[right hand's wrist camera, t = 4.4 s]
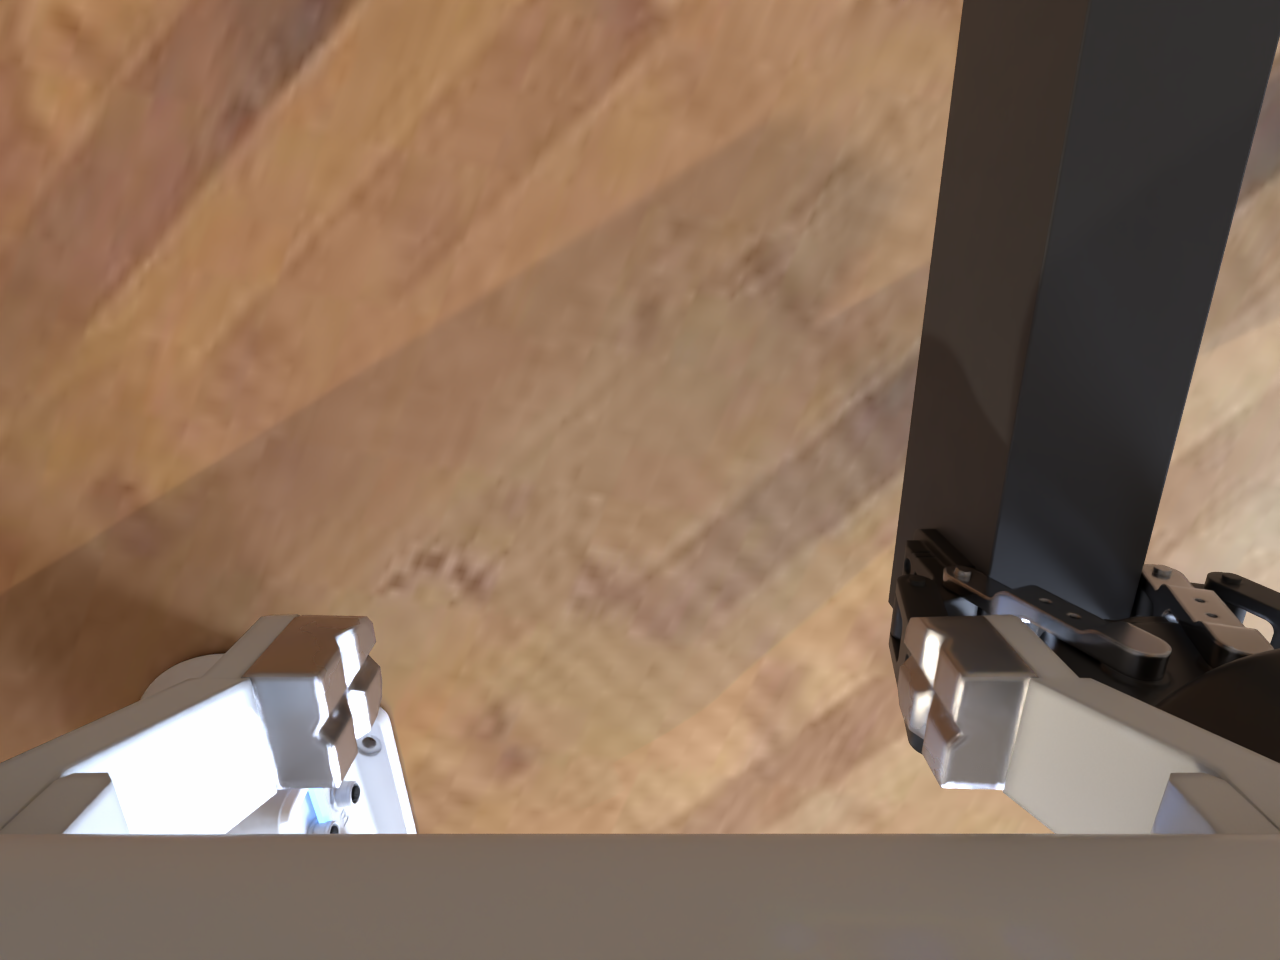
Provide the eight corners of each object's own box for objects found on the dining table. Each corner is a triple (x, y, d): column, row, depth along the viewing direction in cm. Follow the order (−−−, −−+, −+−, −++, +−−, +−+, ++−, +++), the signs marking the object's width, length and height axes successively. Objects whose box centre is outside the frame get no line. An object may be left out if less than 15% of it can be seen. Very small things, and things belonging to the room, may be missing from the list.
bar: (980, -143, 22) (1148, -334, 15) (1133, -144, 22) (1377, -337, 15) (887, 602, 32) (964, 712, 24) (996, 601, 32) (1107, 710, 24)
